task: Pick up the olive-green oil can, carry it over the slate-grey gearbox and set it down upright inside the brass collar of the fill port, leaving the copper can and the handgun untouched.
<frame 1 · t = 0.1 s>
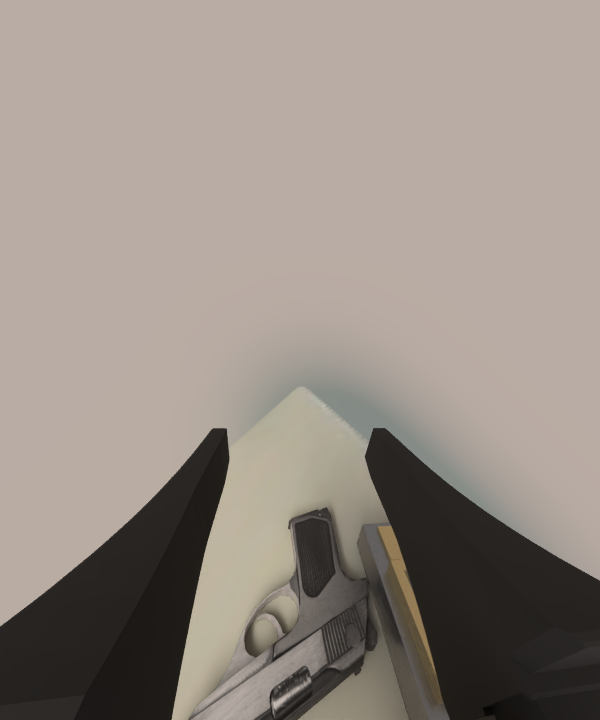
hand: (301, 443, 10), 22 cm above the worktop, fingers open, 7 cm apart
handgun: (276, 610, 20), on the worktop
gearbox: (423, 613, 20), on the worktop
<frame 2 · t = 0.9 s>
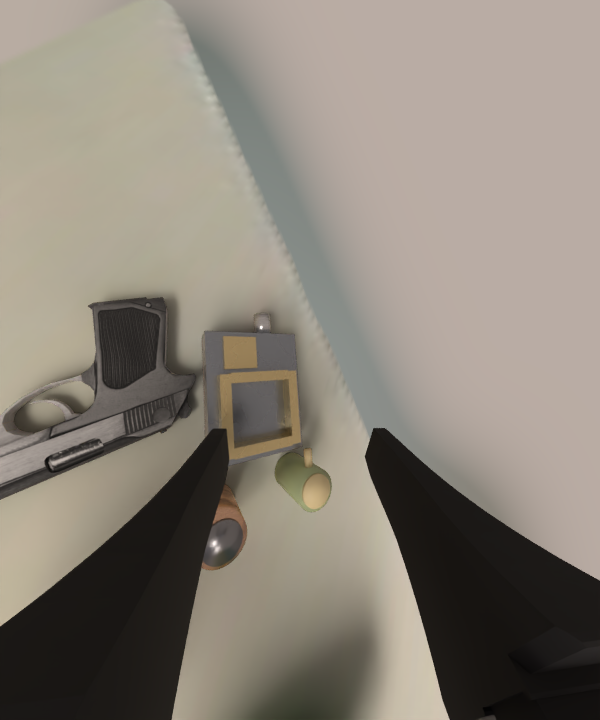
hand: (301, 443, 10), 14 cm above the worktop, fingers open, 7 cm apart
copper can: (213, 503, 21), on the worktop
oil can: (289, 469, 25), on the worktop
handgun: (73, 390, 17), on the worktop
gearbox: (248, 392, 23), on the worktop
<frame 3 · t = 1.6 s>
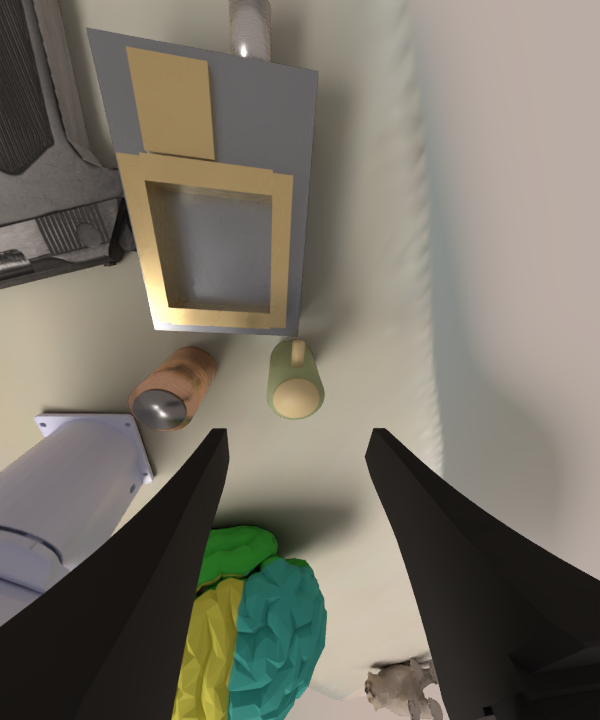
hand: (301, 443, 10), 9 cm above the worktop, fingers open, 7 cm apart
copper can: (193, 367, 18), on the worktop
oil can: (291, 360, 19), on the worktop
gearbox: (234, 231, 14), on the worktop
brain model: (240, 545, 32), on the worktop
animal model: (395, 662, 76), on the worktop
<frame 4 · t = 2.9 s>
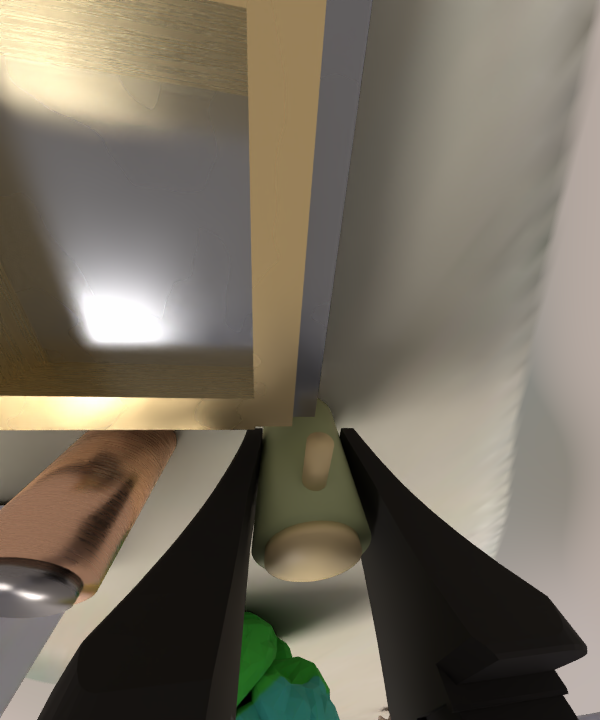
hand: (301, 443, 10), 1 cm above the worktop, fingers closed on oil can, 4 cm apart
copper can: (138, 437, 11), on the worktop
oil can: (298, 422, 12), on the worktop, touching gripper
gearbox: (187, 206, 7), on the worktop
brain model: (229, 627, 25), on the worktop
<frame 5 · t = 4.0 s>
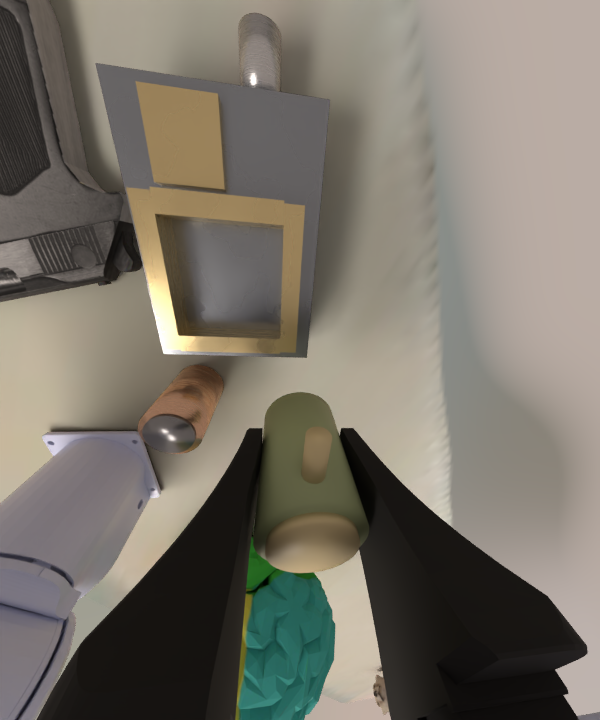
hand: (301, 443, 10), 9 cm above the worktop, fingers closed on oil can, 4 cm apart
copper can: (200, 384, 18), on the worktop
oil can: (298, 420, 12), point 7 cm above the worktop, touching gripper
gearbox: (241, 252, 14), on the worktop
brain model: (247, 555, 32), on the worktop
animal model: (403, 665, 75), on the worktop
when the fingers open (6 cm above the worktop, at t = 5.2 s): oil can stays where it is, resting on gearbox.
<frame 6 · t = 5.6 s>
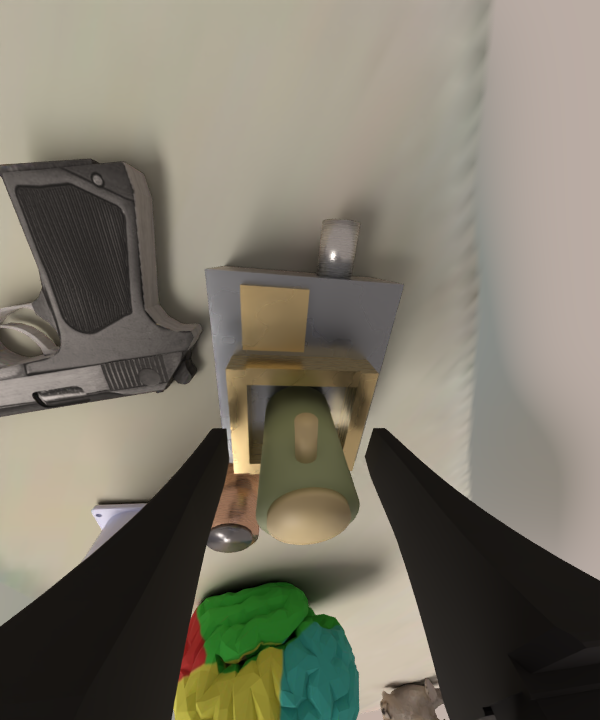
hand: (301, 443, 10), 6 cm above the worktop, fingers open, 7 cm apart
copper can: (243, 463, 19), on the worktop
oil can: (297, 412, 13), point 3 cm above the worktop, touching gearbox
handgun: (53, 312, 13), on the worktop
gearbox: (295, 362, 15), on the worktop
brain model: (268, 596, 33), on the worktop
animal model: (408, 681, 76), on the worktop
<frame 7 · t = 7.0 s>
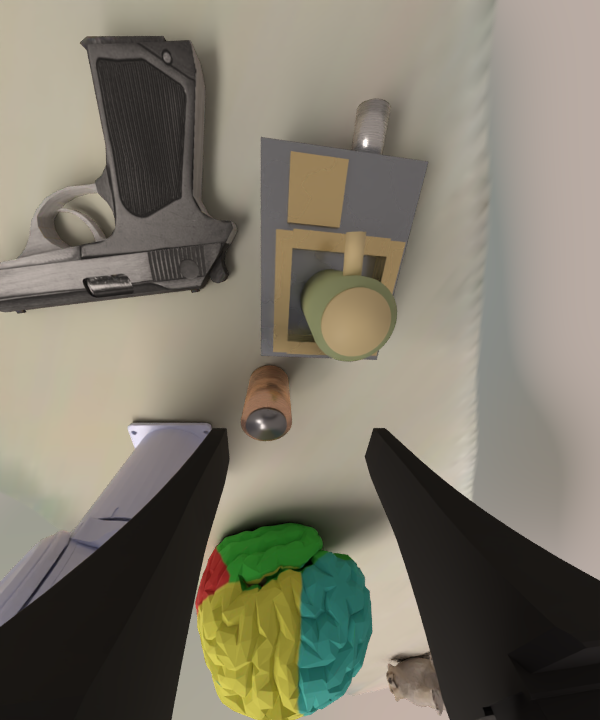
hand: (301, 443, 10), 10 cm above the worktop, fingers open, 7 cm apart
copper can: (269, 382, 21), on the worktop
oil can: (328, 299, 14), point 3 cm above the worktop, touching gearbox
handgun: (104, 207, 14), on the worktop
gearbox: (322, 270, 17), on the worktop
brain model: (282, 541, 35), on the worktop
animal model: (413, 655, 78), on the worktop
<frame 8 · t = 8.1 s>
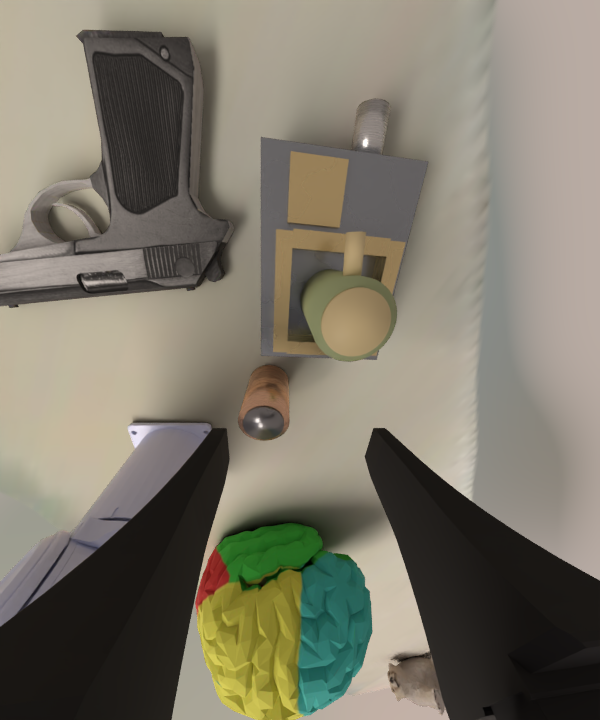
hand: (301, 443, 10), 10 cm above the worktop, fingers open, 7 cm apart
copper can: (269, 382, 21), on the worktop
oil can: (328, 299, 14), point 3 cm above the worktop, touching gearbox
handgun: (100, 202, 14), on the worktop
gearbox: (322, 270, 17), on the worktop
brain model: (282, 541, 35), on the worktop
animal model: (414, 655, 78), on the worktop
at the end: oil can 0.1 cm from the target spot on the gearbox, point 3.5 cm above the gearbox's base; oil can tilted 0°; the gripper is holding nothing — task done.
